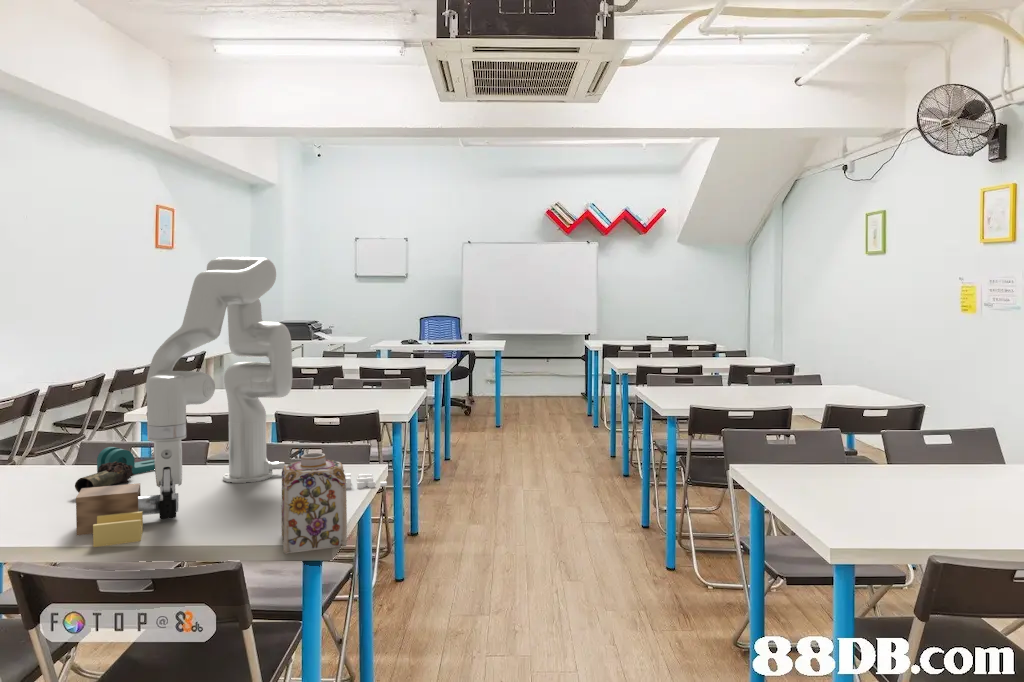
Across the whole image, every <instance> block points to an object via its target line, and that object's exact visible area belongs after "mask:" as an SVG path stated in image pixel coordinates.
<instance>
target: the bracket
mask: <svg viewBox="0 0 1024 682" xmlns="http://www.w3.org/2000/svg"><path fill="white" fill-rule="evenodd" d="M116 461H117V463H120V462H122V463H125V464H127V465H131V466H133V468H132V473H133V474H134V475H137V474H138V473H139V474H143V473H142V472H144V473H147V472H146V471H149V472H151V471H150V470H154V469H155V461H154V459H149V460H142V461H137V462H135V456H134V454H133V453H132V452H131V451H130V450H127V449H123V448H121V447H120V448H119V447H116V446H108V447H105V448H103V449H102V450H101V451H100V452H99V453H98V455H97V458H96V471H97V472H98V468H99V466H101V465H102V464H106V463H108V462H111V463H112V462H116ZM154 471H155V470H154Z"/></svg>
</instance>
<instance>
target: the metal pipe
mask: <svg viewBox="0 0 1024 682" xmlns="http://www.w3.org/2000/svg"><path fill="white" fill-rule="evenodd" d="M132 468H133V466H131V465H127V464H125V463H122V462H120V463H117V461H116V462H112V463H111V462H108V463H106V464H102V465H101V466H99V468H98V472H97V473H93V474H89V475H85V476H83V477H80V478H78V479H77V480H76V482H75V483H74V488H75V491H76V492H78V493H79V492H80V490H81V489H82V488H91V487H103V486H114V485H119V484H123V483H124V484H125V483H128V482H129V481H128V480H129V479H131V478H132V477H133V476H135V474H133V473H132Z"/></svg>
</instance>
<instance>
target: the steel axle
mask: <svg viewBox="0 0 1024 682" xmlns="http://www.w3.org/2000/svg"><path fill="white" fill-rule="evenodd" d="M175 499H176V513H179V506H180V505H179V499H180V498H179V492H175ZM159 501H160V494H154V495H153V494H151V495H141V496H138V508H139V512H140V511H143V516H147V515H158V514H159ZM159 515H160V514H159Z"/></svg>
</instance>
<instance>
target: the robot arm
mask: <svg viewBox="0 0 1024 682" xmlns="http://www.w3.org/2000/svg"><path fill="white" fill-rule="evenodd" d="M276 279H277V269H276V266H275V264H274V263H273V261H271V259H269V258H266V257H258V256H257V257H256V256H255V257H250V256H245V257H244V256H241V257H240V256H223V257H218V258H213V259H211V260H210V261H208V262H207V265H206V270H204V271H201V272H200V273H198V274H197V275H196V276H195V278H194V280H193V283H192V287H191V290H190V294H189V296H188V297H189V298H188V301H187V305H186V309H185V313H184V316H183V320H182V323H181V326H180V327H179V329H177V330H176V331H175V332H174V333H172V334H171V335H170V336H169V337H167V339H166V340H165V341H164V342H163V343H162V344H161V345H160V346H159V347H158V349H157V350H156V351H155V353H154V354H153V356H152V359H151V361H150V365H149V368H148V371H147V376H146V381H145V391H146V392H145V393H146V405H147V406H146V412H147V413H146V416H147V417H146V420H147V425H146V427H147V441H149V442H152V443H153V453H154V455H153V457H154V459H153V460H154V461H155V470H154V474H155V482H156V487H158V488H159V489H160V490H159V491H160V492H159V495H160V501H159V520H168V519H176V518H177V512H176V499H175V493H176V485H178V487H180V486H181V485H182V484H183V445H182V440H184V439H187V405H188V406H190V405H202V404H205V403H207V402H208V401H210V400H211V399H212V397H213V396H214V394H215V391H216V383H215V380H214V379H213V377H212V376H211V375H210V374H208V373H205V372H204V371H203V372H202V371H194V370H193V371H189V370H174V368H175V366H176V364H177V363H178V361H179V360H180V359H181V358H182V357H183V356H185V355H186V354H188V353H189V352H190V351H193V350H195V349H197V348H199V347H202V346H205V345H206V344H209V343H210V342H213V341H215V340H217V339H218V338H219V336H220V335H221V332H222V328H223V323H224V320H225V315H226V310H227V327H228V329H227V330H228V331H227V332H228V333H227V334H228V343H229V344H228V345H229V350H230V352H231V353H232V354H233V355H234V356H237V357H243V358H268V362H266V361H265V362H264V361H263V362H262V361H239V362H238V361H237V362H235V363H232V364H231V365H229V366H228V367H227V368H226V370H225V372H224V375H223V382H224V383H223V384H224V388H225V394H226V398H227V407H228V412H227V413H228V472H226V473H224V474H223V475H222V480H223V481H224V482H226V483H230V482H232V483H233V484H247V483H246V482H251V483H256V481H258V482H262V481H261V480H263V481H266V480H269V479H271V478H272V477H273V476H272V475H274V474H273V470H282V469H283V466H285V465H286V464H285V462H284V461H280V462H279V461H269V460H268V458H267V413H266V409H265V406H264V405H263V404H262V402H261V400H260V399H259V398H269V399H271V398H272V399H273V398H274V399H275V398H276V399H278V398H284V397H286V396H288V395H289V394H290V393H291V390H292V387H293V354H292V353H293V352H292V351H293V350H292V337H291V334H290V330H289V328H288V327H287V326H286V324H285V323H282V322H277V321H264V320H263V318H262V317H263V315H262V313H263V312H262V303H261V301H260V298H261V297H263V296H264V295H265V294H267V292H269V291H270V290H271V289H272V288H273V286H274V284H275V283H276ZM271 476H272V477H271ZM270 477H271V478H270ZM268 478H269V479H268ZM265 479H266V480H265ZM232 483H231V484H232Z"/></svg>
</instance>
